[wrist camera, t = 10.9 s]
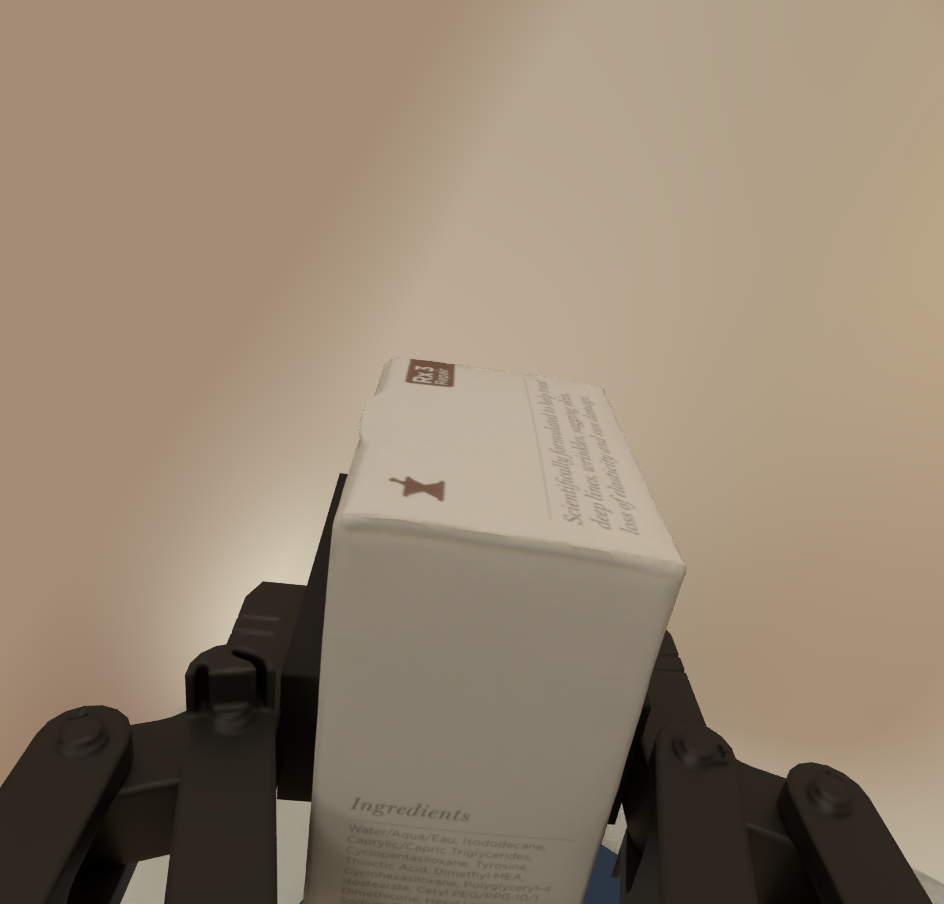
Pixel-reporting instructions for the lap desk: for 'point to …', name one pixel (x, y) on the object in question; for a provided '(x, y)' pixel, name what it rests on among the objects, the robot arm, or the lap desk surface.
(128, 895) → the lap desk surface
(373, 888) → the cosmetic box
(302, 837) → the lap desk surface
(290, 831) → the lap desk surface
